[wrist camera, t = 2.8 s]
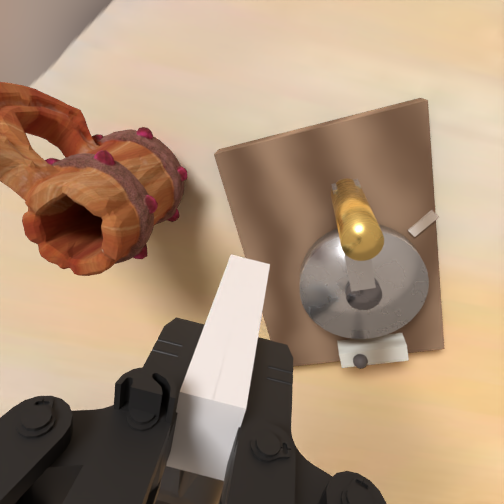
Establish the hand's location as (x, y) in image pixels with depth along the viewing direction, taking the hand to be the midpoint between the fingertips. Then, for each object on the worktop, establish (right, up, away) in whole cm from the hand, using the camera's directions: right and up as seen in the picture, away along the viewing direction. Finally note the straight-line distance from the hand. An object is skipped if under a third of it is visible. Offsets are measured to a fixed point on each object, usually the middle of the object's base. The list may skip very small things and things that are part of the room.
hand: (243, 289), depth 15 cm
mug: (-11, +11, +20) cm, 25 cm away
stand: (+9, +2, +22) cm, 24 cm away
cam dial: (+10, +1, +20) cm, 22 cm away
